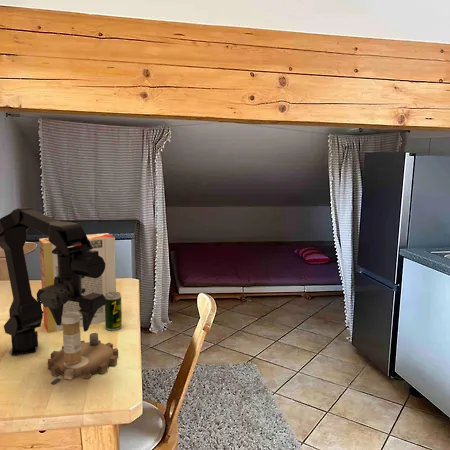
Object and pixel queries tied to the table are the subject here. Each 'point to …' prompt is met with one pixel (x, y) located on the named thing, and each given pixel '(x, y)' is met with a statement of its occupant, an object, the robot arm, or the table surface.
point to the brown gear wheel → (85, 359)
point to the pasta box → (91, 285)
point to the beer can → (113, 311)
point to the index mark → (55, 381)
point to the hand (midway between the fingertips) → (72, 327)
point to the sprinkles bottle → (71, 337)
